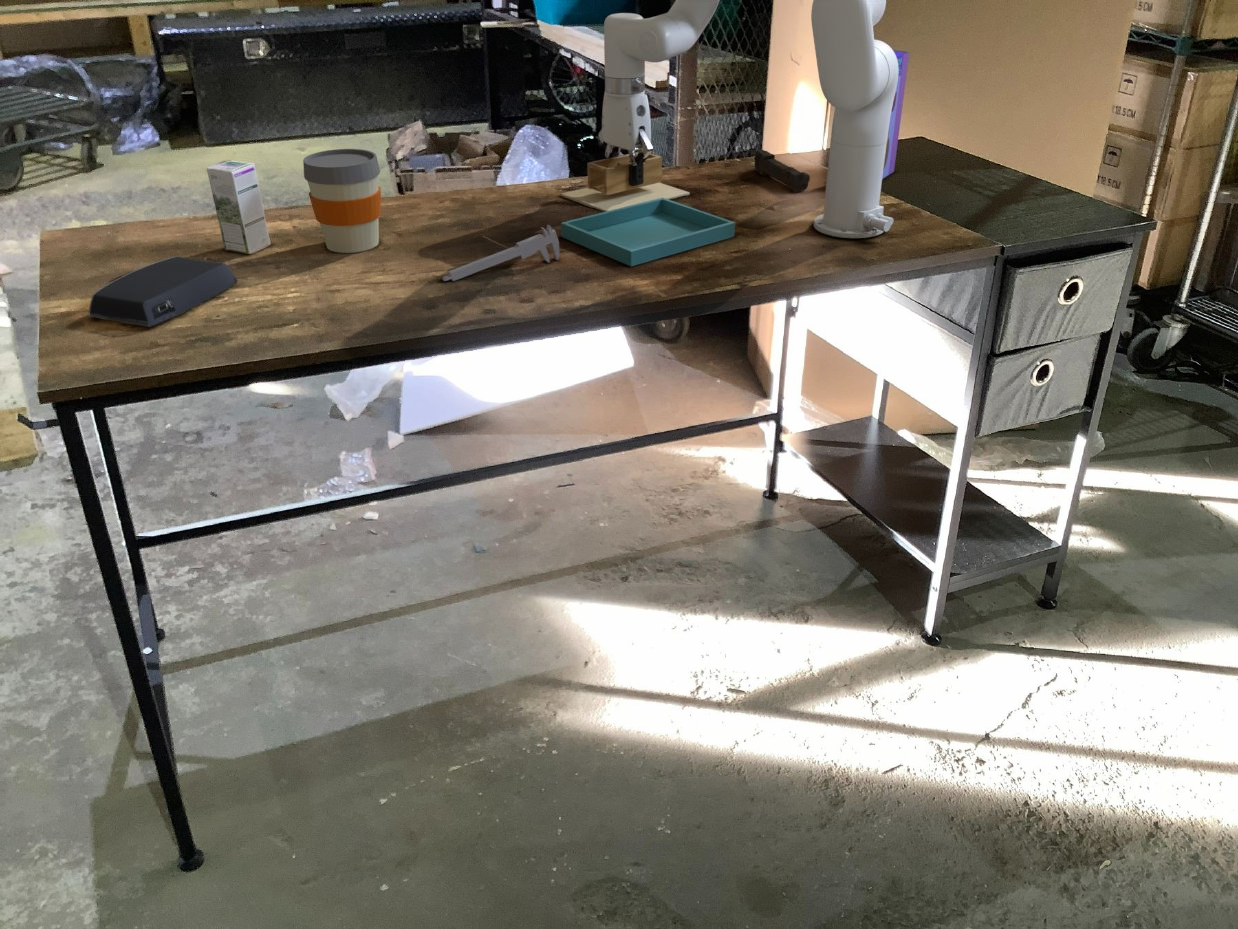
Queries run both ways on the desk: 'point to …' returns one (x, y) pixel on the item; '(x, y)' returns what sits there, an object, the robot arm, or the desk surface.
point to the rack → (621, 173)
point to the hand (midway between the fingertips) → (625, 180)
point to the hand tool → (780, 171)
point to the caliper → (512, 254)
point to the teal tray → (647, 231)
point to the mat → (623, 196)
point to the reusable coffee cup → (345, 197)
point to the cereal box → (895, 114)
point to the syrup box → (239, 206)
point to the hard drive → (160, 291)
